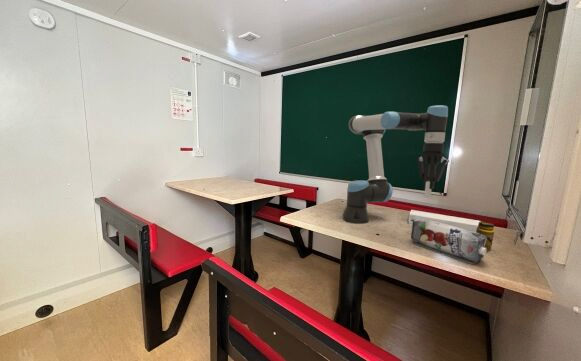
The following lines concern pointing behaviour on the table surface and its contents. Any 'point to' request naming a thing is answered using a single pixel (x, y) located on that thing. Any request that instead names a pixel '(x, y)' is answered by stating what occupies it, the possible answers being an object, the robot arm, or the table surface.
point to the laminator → (444, 220)
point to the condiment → (486, 230)
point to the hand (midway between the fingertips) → (427, 195)
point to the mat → (446, 253)
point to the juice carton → (449, 239)
